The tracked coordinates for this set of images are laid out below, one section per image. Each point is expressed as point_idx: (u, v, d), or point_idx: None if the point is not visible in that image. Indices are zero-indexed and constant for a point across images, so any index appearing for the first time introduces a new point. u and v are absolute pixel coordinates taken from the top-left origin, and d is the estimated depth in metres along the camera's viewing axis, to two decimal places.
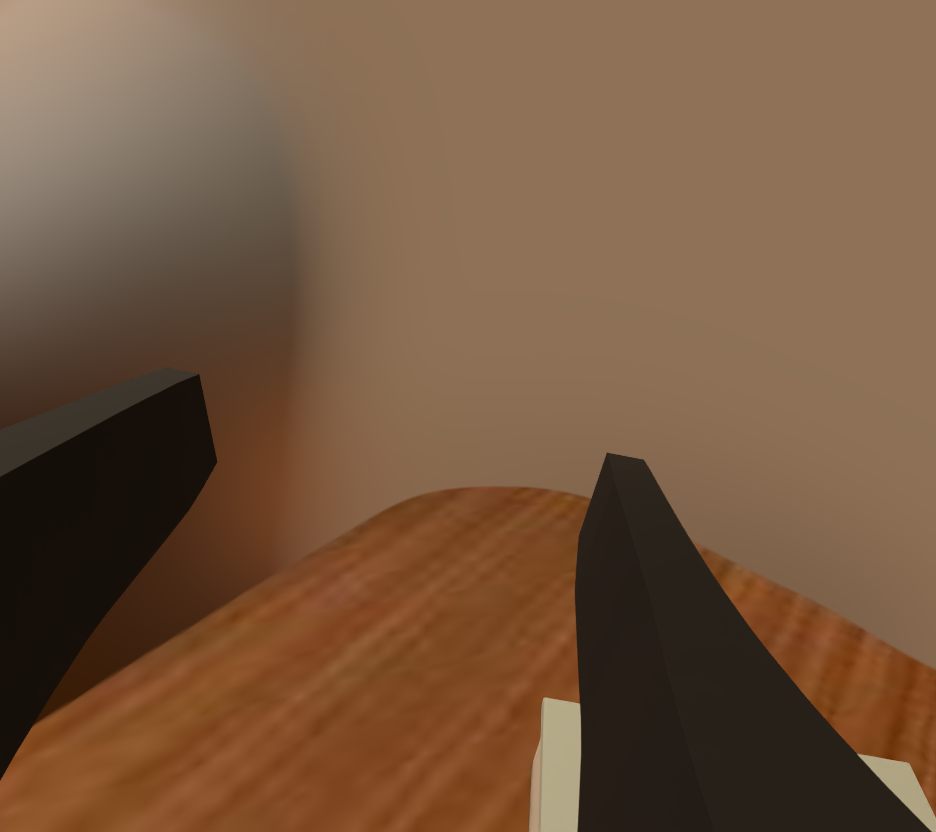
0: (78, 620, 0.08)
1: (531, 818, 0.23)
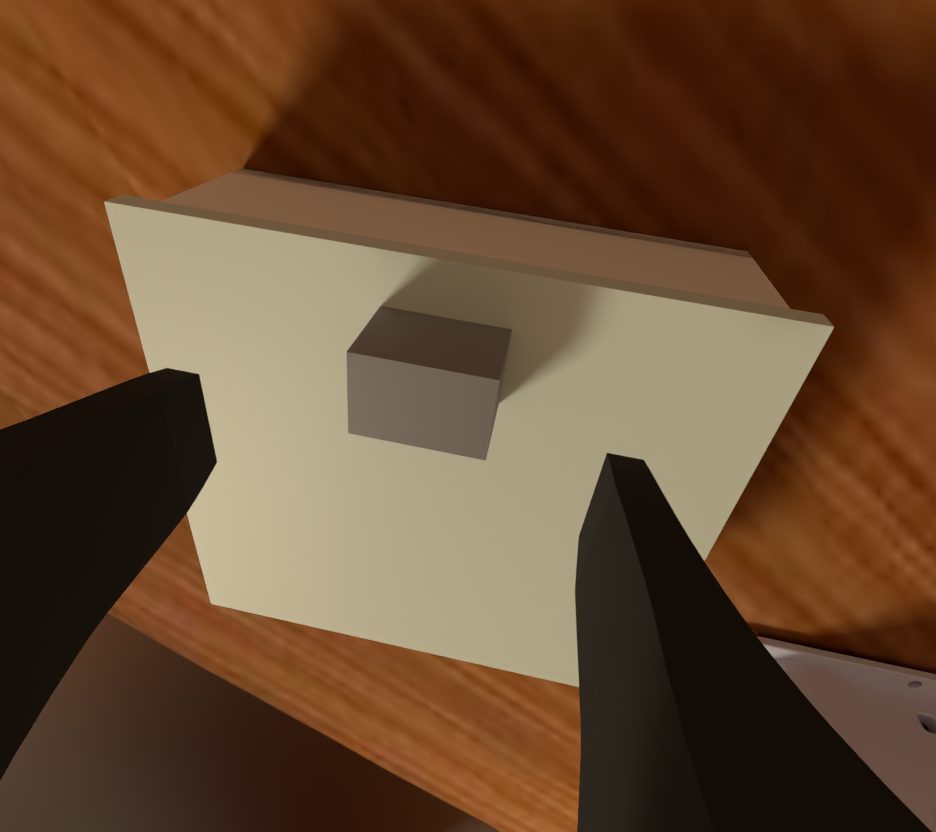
0: (78, 620, 0.08)
1: None
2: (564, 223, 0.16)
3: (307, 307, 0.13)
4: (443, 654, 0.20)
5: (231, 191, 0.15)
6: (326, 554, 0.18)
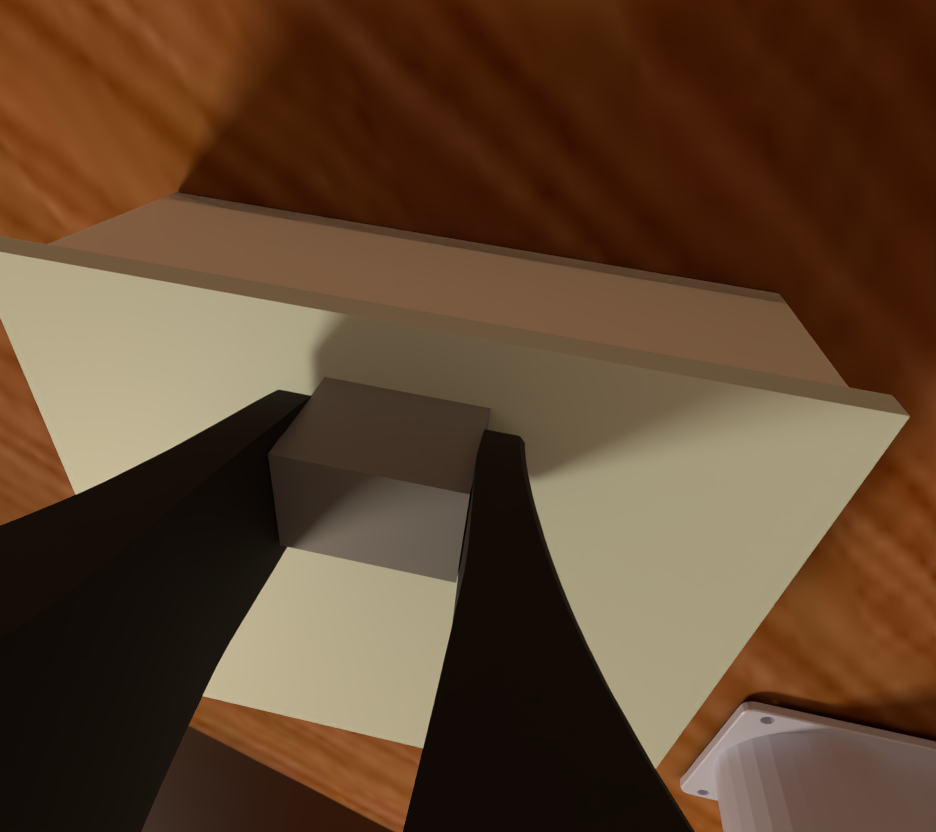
0: (210, 651, 0.08)
1: None
2: (559, 260, 0.13)
3: (234, 376, 0.10)
4: (421, 746, 0.17)
5: (153, 225, 0.12)
6: (281, 642, 0.15)
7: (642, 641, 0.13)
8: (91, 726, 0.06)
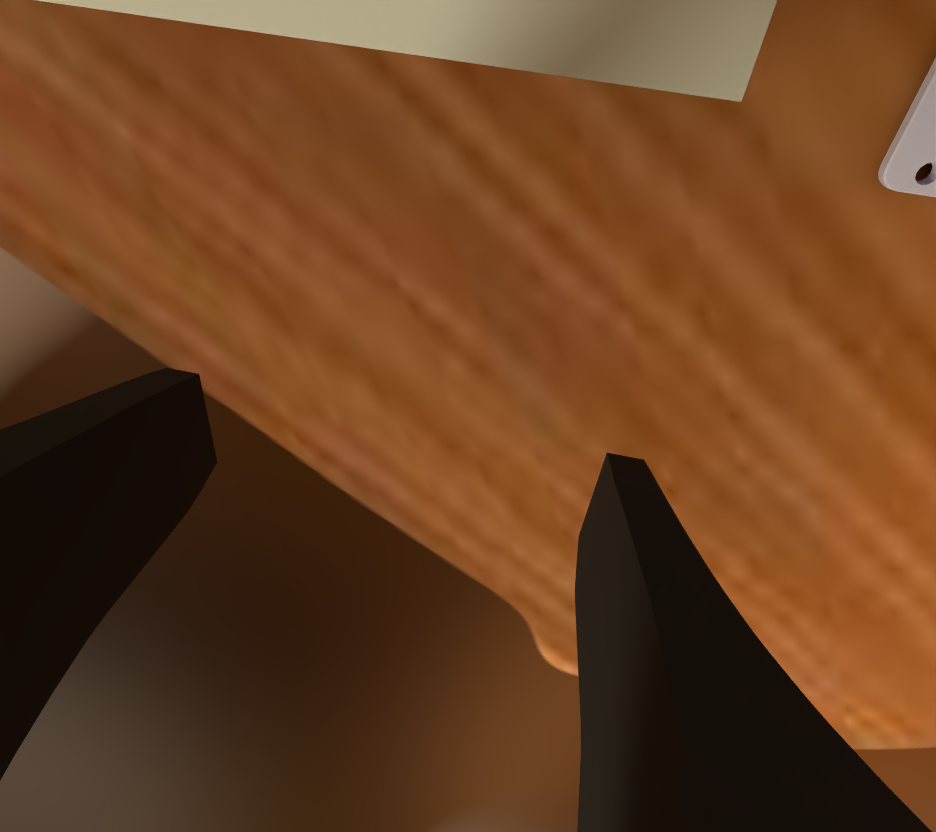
0: (78, 620, 0.08)
1: None
2: None
3: None
4: (373, 42, 0.10)
5: None
6: None
7: None
8: None
